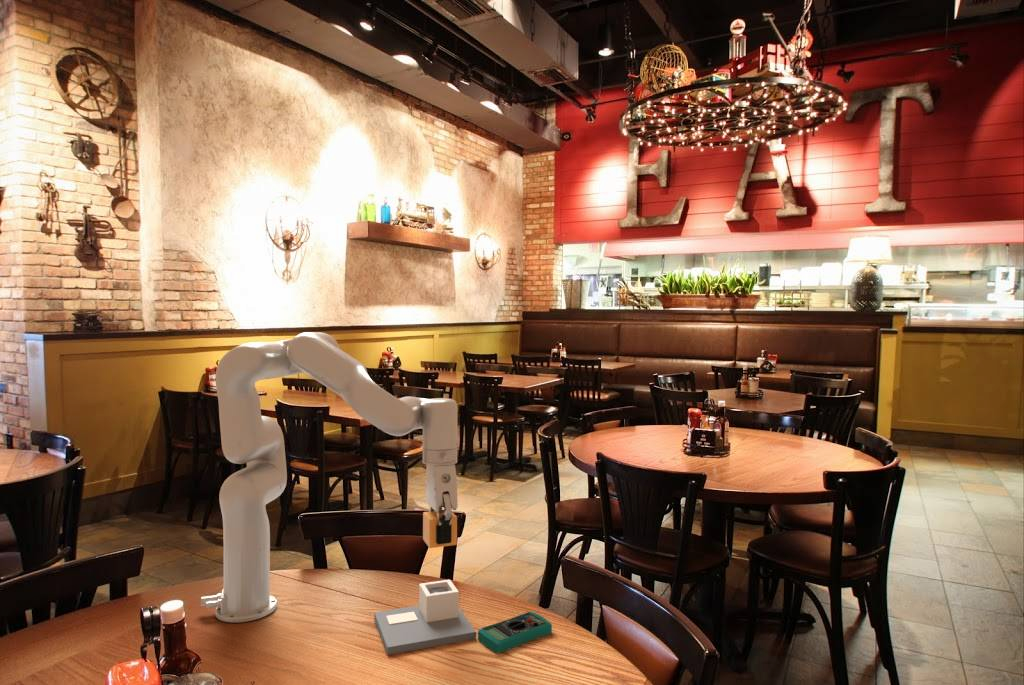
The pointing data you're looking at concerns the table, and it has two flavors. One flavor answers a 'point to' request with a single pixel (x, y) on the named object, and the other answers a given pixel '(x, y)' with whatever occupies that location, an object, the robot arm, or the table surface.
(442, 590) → the breaker button
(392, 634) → the board
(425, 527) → the orange foam cube
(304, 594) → the table surface
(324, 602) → the table surface
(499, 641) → the digital multimeter
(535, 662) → the table surface
